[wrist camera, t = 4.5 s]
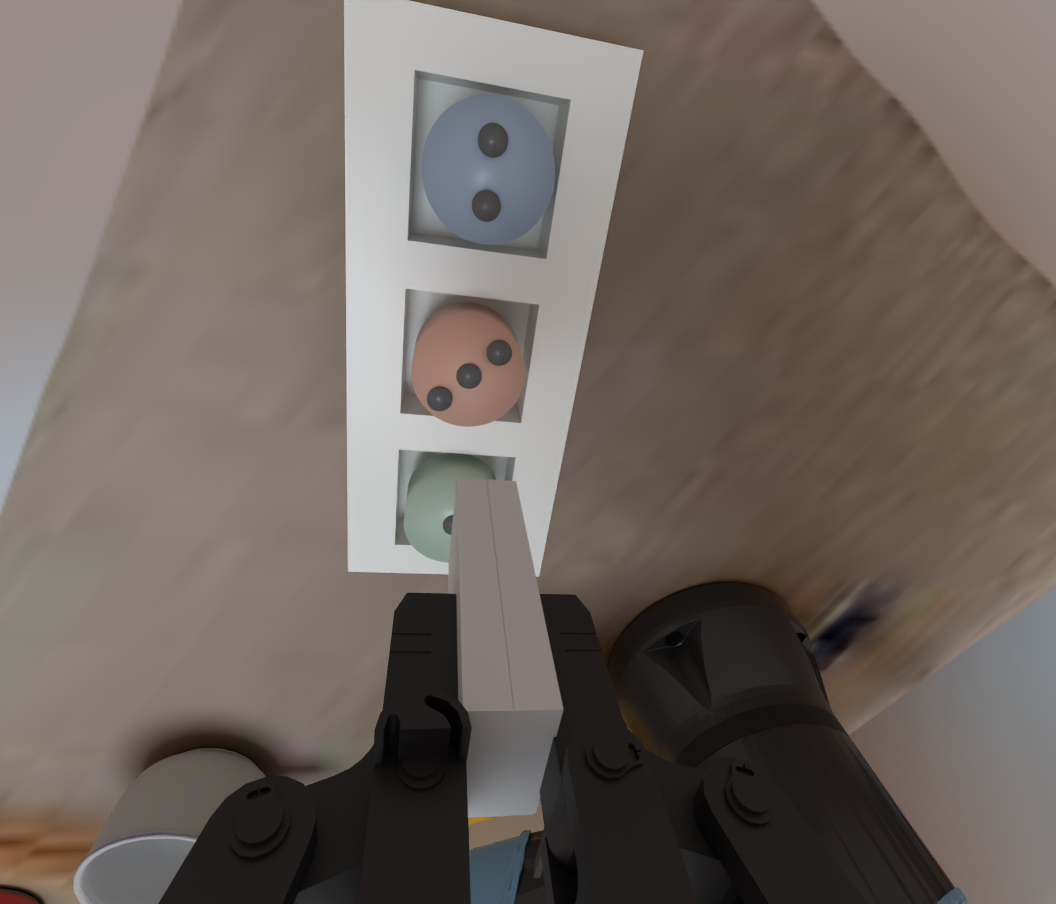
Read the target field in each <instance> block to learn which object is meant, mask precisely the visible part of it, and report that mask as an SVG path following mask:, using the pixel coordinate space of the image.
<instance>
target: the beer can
mask: <svg viewBox="0 0 1056 904" xmlns="http://www.w3.org/2000/svg"><path fill="white" fill-rule="evenodd" d="M0 904H39V903H38V901H37V900H36V899H35V898H33V897H32V896H30V895H28V894H26V893H23V892H20V891H16V890H10V889H0Z"/></svg>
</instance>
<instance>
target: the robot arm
mask: <svg viewBox="0 0 1056 904" xmlns="http://www.w3.org/2000/svg"><path fill="white" fill-rule="evenodd" d="M601 651H602V650H601V646H600V643H599V640H598V637H596V630H595V627H594V624H593V621H592V617H591V614H590V612H589V611H588V610H587V608H586V607H585V606H584V605H583V604H582V602H581V601H580V600H579V599H578V597H577V596H576V595H561V594H539V589H538V584H537V580H536V575H535V570H534V565H533V560H532V556H531V551H530V546H529V541H528V536H527V531H526V527H525V522H524V517H523V512H522V507H521V503H520V498H519V493H518V488H517V483H516V481H507V480H490V479H473V478H457V482H456V492H455V502H454V512H453V523H452V533H451V543H450V553H449V563H448V594H439V593H407V594H406V595H405V597H404V598H403V600H402V601H401V603H400V604H399V606H398V607H397V608H396V610H395V611H394V620H393V628H392V637H391V645H390V655H389V662H388V670H387V679H386V687H385V696H384V704H383V711H382V712H381V713H380V716H379V719H378V722H377V725H376V728H375V736H374V745H373V746H372V748H371V749H370V751H369V752H368V753H367V754H366V755H365V756H364V757H363V759H362V760H360V761H359V762H358V763H356V764H355V765H354V766H352V767H351V768H350V769H348V770H345V771H343V772H341V773H339V774H337V775H335V776H332V777H329V778H327V779H324V780H321V781H318V782H316V783H313V784H310V785H307V786H304V784H303V783H301V782H298V781H296V780H294V779H292V778H289V777H287V776H266V777H263V778H261V779H258V780H255V781H252V782H249V783H246V784H245V785H243V786H242V787H240V788H239V789H238V790H236V791H235V792H233V793H232V794H230V795H229V796H228V797H226V798H225V800H224V801H223V802H222V803H221V804H220V806H219V807H218V808H217V809H216V811H215V812H214V813H213V814H212V815H211V817H210V818H209V820H208V822H207V823H206V825H205V827H204V828H203V830H202V832H201V833H200V835H199V837H198V838H197V840H196V842H195V843H194V845H193V847H192V848H191V850H190V852H189V853H188V855H187V857H186V858H185V860H184V862H183V863H182V865H181V867H180V868H179V870H178V872H177V873H176V875H175V877H174V878H173V880H172V882H171V883H170V885H169V887H168V888H167V890H166V892H165V893H164V895H163V897H162V898H161V900H160V902H159V903H158V904H967V899H966V897H965V895H964V894H963V893H962V891H961V890H960V888H958V887H957V888H955V887H954V885H953V884H952V882H951V881H950V879H949V878H948V877H947V875H946V874H945V872H944V871H943V869H942V868H941V867H940V865H939V864H938V862H937V861H936V859H935V858H934V857H933V855H932V854H931V852H930V851H929V850H928V848H927V847H926V845H925V844H924V842H923V841H922V839H921V838H920V837H919V835H918V834H917V832H916V831H915V829H914V828H913V827H912V825H911V824H910V822H909V821H908V820H907V818H906V817H905V815H904V814H903V812H902V811H901V810H900V808H899V807H898V805H897V804H896V802H895V801H894V799H893V798H892V797H891V795H890V794H889V792H888V791H887V790H886V788H885V787H884V785H883V784H882V782H881V781H880V780H879V778H878V777H877V775H876V774H875V772H874V771H873V770H872V768H871V767H870V765H869V764H868V762H867V761H866V760H865V758H864V757H863V755H862V754H861V752H860V751H859V750H858V748H857V747H856V745H855V744H854V742H853V741H852V740H851V738H850V737H849V736H848V734H847V733H846V731H845V730H844V728H843V727H842V725H841V724H840V723H839V721H838V719H837V718H836V716H835V715H834V714H833V712H832V709H831V707H830V704H829V701H828V697H827V694H826V691H825V688H824V684H823V681H822V678H821V675H820V671H819V668H818V665H817V662H816V660H815V657H814V655H813V650H812V646H811V643H810V639H809V637H808V635H807V633H806V631H805V629H804V627H803V626H802V624H801V623H800V621H799V620H798V619H797V617H796V616H795V615H794V613H793V612H792V611H791V609H790V608H789V607H788V605H787V604H786V603H785V602H784V601H783V600H782V599H781V598H780V597H778V596H777V595H775V594H774V593H772V592H770V591H768V590H766V589H763V588H761V587H758V586H754V585H749V584H743V583H717V584H709V585H704V586H699V587H695V588H692V589H688V590H686V591H683V592H680V593H677V594H675V595H673V596H671V597H668V598H666V599H664V600H663V601H661V602H659V603H657V604H656V605H654V606H652V607H651V608H649V609H648V610H647V611H645V612H644V613H643V614H641V615H640V616H639V617H638V618H637V619H636V620H634V621H633V622H632V623H631V624H630V625H629V626H628V628H627V629H626V630H625V631H624V632H623V634H622V635H621V636H620V638H619V639H618V641H617V643H616V644H615V646H614V648H613V650H612V653H611V656H610V659H609V663H608V669H607V666H606V662H605V659H604V656H603V654H602V653H601ZM626 725H627V726H628V728H630V730H631V731H632V732H631V731H630V730H628V729H627V726H626ZM540 798H541V805H542V811H543V819H544V826H545V827H544V830H543V831H538V832H534V833H531V830H524V831H523V832H522V833H521V834H520V836H517V837H514V838H510V839H506V840H503V841H499V842H495V843H492V844H488V845H484V846H481V847H477V848H474V849H472V850H469V831H468V830H469V829H468V818H477V817H496V816H515V815H533V814H536V812H537V809H538V804H539V801H540Z"/></svg>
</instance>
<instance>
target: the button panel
mask: <svg viewBox="0 0 1056 904" xmlns="http://www.w3.org/2000/svg"><path fill="white" fill-rule="evenodd" d="M643 51H644V50H639V49H634V48H629V47H625V46H620V45H615V44H611V43H606V42H601V41H597V40H592V39H587V38H583V37H578V36H573V35H569V34H564V33H559V32H555V31H550V30H545V29H540V28H536V27H531V26H526V25H522V24H517V23H512V22H508V21H503V20H498V19H494V18H489V17H484V16H480V15H475V14H470V13H466V12H461V11H456V10H451V9H447V8H442V7H437V6H433V5H428V4H423V3H419V2H414V1H409V0H344V63H345V206H346V349H347V492H348V571H349V572H384V573H420V574H448V563H447V562H440V561H436V560H432V559H430V558H428V557H426V556H424V555H422V554H421V553H419V552H418V551H417V550H416V549H415V548H414V547H413V546H412V545H411V544H410V543H409V541H408V539H407V537H406V534H405V531H404V514H405V506H406V498H407V490H408V484H409V480H410V478H411V476H412V474H413V473H414V471H415V470H416V469H417V468H418V466H420V465H421V464H422V463H423V462H425V461H426V460H428V459H430V458H432V457H434V456H437V455H440V454H445V453H458V454H467V455H470V456H473V457H475V458H477V459H479V460H481V461H482V462H484V463H485V464H486V465H487V466H488V467H489V468H490V469H491V470H492V472H493V473H494V475H495V477H496V480H507V481H516V483H517V488H518V493H519V498H520V503H521V507H522V512H523V517H524V522H525V527H526V531H527V536H528V541H529V546H530V551H531V556H532V560H533V565H534V570H535V575H536V577H539V574H540V569H541V564H542V559H543V554H544V549H545V544H546V539H547V534H548V529H549V524H550V519H551V514H552V509H553V504H554V499H555V493H556V488H557V483H558V478H559V473H560V468H561V463H562V458H563V453H564V448H565V443H566V438H567V433H568V428H569V423H570V418H571V413H572V408H573V403H574V398H575V393H576V388H577V383H578V378H579V373H580V368H581V363H582V358H583V353H584V348H585V343H586V338H587V332H588V327H589V322H590V317H591V312H592V307H593V302H594V297H595V292H596V287H597V282H598V277H599V272H600V267H601V262H602V257H603V252H604V247H605V242H606V237H607V232H608V227H609V222H610V217H611V212H612V207H613V202H614V197H615V192H616V187H617V182H618V177H619V172H620V166H621V161H622V156H623V151H624V146H625V141H626V136H627V131H628V126H629V121H630V116H631V111H632V106H633V101H634V96H635V91H636V86H637V81H638V76H639V71H640V66H641V61H642V56H643ZM485 94H489V95H498V96H501V97H505V98H508V99H510V100H513V101H515V102H517V103H518V104H520V105H521V106H523V107H524V108H525V109H527V110H528V111H529V112H530V113H531V114H532V115H533V116H534V117H535V118H536V119H537V120H538V122H539V123H540V125H541V126H542V127H543V129H544V131H545V133H546V135H547V137H548V139H549V142H550V144H551V147H552V151H553V155H554V162H555V183H554V188H553V193H552V196H551V199H550V202H549V204H548V207H547V209H546V211H545V212H544V214H543V215H542V217H541V219H540V220H539V221H538V222H537V223H536V225H535V226H534V227H533V228H531V229H530V230H529V231H528V232H527V233H525V234H524V235H522V236H521V237H519V238H517V239H515V240H513V241H510V242H507V243H502V244H496V245H485V244H478V243H474V242H471V241H468V240H466V239H464V238H462V237H460V236H458V235H456V234H455V233H454V232H452V231H451V230H450V229H448V228H447V227H446V226H445V225H444V224H443V223H442V222H441V220H440V219H439V218H438V217H437V215H436V214H435V212H434V211H433V209H432V207H431V205H430V203H429V201H428V199H427V196H426V193H425V190H424V186H423V181H422V170H421V162H422V153H423V149H424V145H425V142H426V139H427V136H428V134H429V132H430V130H431V128H432V126H433V125H434V123H435V122H436V120H437V119H438V118H439V116H440V115H441V114H442V113H443V112H444V111H445V110H446V109H448V108H449V107H450V106H452V105H453V104H455V103H456V102H458V101H460V100H462V99H465V98H468V97H471V96H475V95H485ZM464 302H466V303H476V304H480V305H483V306H486V307H488V308H490V309H492V310H494V311H495V312H497V313H498V314H499V315H501V316H502V317H503V318H504V319H505V320H506V322H507V323H508V324H509V326H510V327H511V329H512V331H513V333H514V335H515V338H516V341H517V343H518V346H519V349H520V351H521V354H522V357H523V360H524V365H525V381H524V386H523V389H522V392H521V394H520V396H519V398H518V400H517V402H516V403H515V404H514V406H513V407H512V408H511V409H510V410H509V411H508V412H507V413H506V414H505V415H503V416H502V417H500V418H499V419H497V420H495V421H493V422H490V423H488V424H485V425H480V426H473V427H463V426H456V425H452V424H449V423H446V422H444V421H442V420H440V419H438V418H436V417H435V416H434V415H432V414H431V413H430V412H429V411H428V410H427V409H426V408H425V407H424V406H423V405H422V404H421V402H420V401H419V399H418V398H417V395H416V393H415V391H414V388H413V385H412V379H411V367H412V360H413V354H414V349H415V343H416V339H417V336H418V333H419V331H420V329H421V327H422V326H423V324H424V323H425V321H426V320H427V319H428V318H429V317H430V316H431V315H432V314H433V313H435V312H436V311H438V310H439V309H441V308H443V307H445V306H448V305H451V304H456V303H464Z"/></svg>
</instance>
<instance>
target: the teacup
mask: <svg viewBox="0 0 1056 904" xmlns="http://www.w3.org/2000/svg"><path fill="white" fill-rule="evenodd" d="M263 777H266V776H265V775H264V773H263V772H262V771H261V770H260V769H259V768H258V767H257V766H256V765H255V764H254V763H253V762H252V761H251V760H249V759H248V758H246V757H245V756H243V755H241V754H239V753H237V752H233V751H230V750H226V749H220V748H201V749H194V750H190V751H187V752H184V753H180V754H176V755H173V756H170V757H167V758H165V759H163V760H160V761H159V762H157V763H155V764H153V765H152V766H150V767H149V768H147V769H146V770H144V771H143V772H142V773H141V774H140V775H139V776H138V777H137V778H136V779H135V780H134V781H133V782H132V783H131V784H130V786H129V787H128V788H127V790H126V791H125V792H124V794H123V795H122V797H121V798H120V800H119V801H118V803H117V805H116V806H115V808H114V810H113V811H112V813H111V815H110V816H109V818H108V820H107V822H106V823H105V825H104V827H103V828H102V830H101V832H100V834H99V836H98V837H97V839H96V841H95V843H94V845H93V847H92V848H91V850H90V852H89V854H88V855H87V856H86V857H85V858H84V860H83V861H82V862H81V864H80V865H79V867H78V868H77V871H76V874H75V877H74V884H73V888H74V893H75V894H76V896H77V898H78V900H79V901H80V903H81V904H158V903H159V902H160V900H161V898H162V897H163V895H164V893H165V892H166V890H167V888H168V887H169V885H170V883H171V882H172V880H173V878H174V877H175V875H176V873H177V872H178V870H179V868H180V867H181V865H182V863H183V862H184V860H185V858H186V857H187V855H188V853H189V852H190V850H191V848H192V847H193V845H194V843H195V842H196V840H197V838H198V837H199V835H200V833H201V832H202V830H203V828H204V827H205V825H206V823H207V822H208V820H209V818H210V817H211V815H212V814H213V813H214V812H215V811H216V809H217V808H218V807H219V806H220V804H221V803H222V802H223V801H224V800H225V798H226V797H228V796H229V795H230V794H232V793H233V792H235V791H236V790H238V789H239V788H240V787H242V786H243V785H245V784H246V783H249V782H252V781H255V780H258V779H261V778H263Z"/></svg>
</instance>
